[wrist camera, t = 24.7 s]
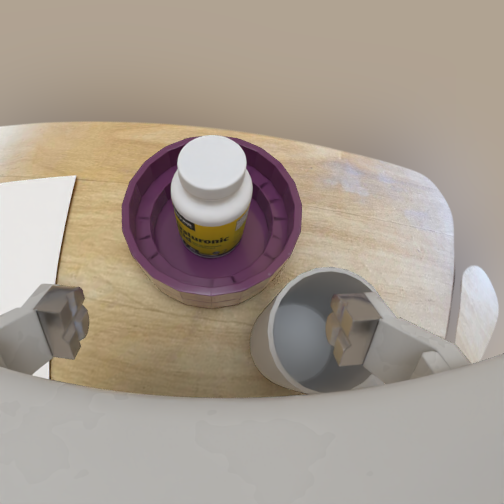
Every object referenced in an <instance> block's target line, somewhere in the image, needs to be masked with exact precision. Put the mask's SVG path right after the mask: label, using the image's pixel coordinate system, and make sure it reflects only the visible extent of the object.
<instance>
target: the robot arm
mask: <svg viewBox="0 0 504 504" xmlns="http://www.w3.org/2000/svg"><path fill="white" fill-rule="evenodd" d="M84 299H85V298H84V294H83V290H82V289H81V288H80V287H75V286H65V285H54V284H41V285H40V286H39V287H38V288H37V289H36V290H35V291H34V293H33V294H32V295H31V296H30V297H29V298H28V299H27V301H26V302H25V303H24V304H23V305H22V306H21V308H18V307H17V308H15V309H13V310H10V311H8V312H6V313H4V314H2V315H0V504H504V353H503V354H501V355H498V356H495V357H492V358H489V359H486V360H483V361H479V362H476V363H473V364H471V363H470V361H469V360H468V359H467V358H466V356H465V355H464V354H463V353H462V351H461V350H460V349H459V348H458V347H457V345H455V344H453V343H451V342H449V341H447V340H445V339H443V338H441V337H439V336H437V335H435V334H433V333H431V332H429V331H427V330H425V329H423V328H421V327H419V326H417V325H415V324H413V323H411V322H409V321H407V320H405V319H403V318H397V317H396V316H395V315H394V313H393V312H392V311H391V309H390V308H389V307H388V306H387V304H386V303H385V302H384V301H383V299H382V298H381V297H380V296H379V294H378V293H376V292H366V293H348V294H334V295H333V297H332V299H331V303H330V306H331V308H332V310H333V311H332V312H331V313H330V314H329V315H328V316H327V320H326V325H325V333H326V338H327V341H328V343H329V344H330V345H331V346H333V347H334V350H333V355H334V357H335V359H336V361H337V364H338V366H339V367H340V366H353V365H363V367H365V368H366V369H367V370H368V371H370V372H371V373H372V374H373V375H375V376H376V377H377V378H378V379H380V380H381V381H382V382H383V383H385V384H384V385H378V386H372V387H366V388H359V389H352V390H344V391H336V392H328V393H318V394H307V395H294V396H278V397H253V398H202V397H178V396H162V395H150V394H140V393H130V392H122V391H114V390H107V389H100V388H93V387H87V386H81V385H76V384H70V383H65V382H60V381H55V380H50V379H46V378H42V377H37V376H33V375H32V374H34V373H35V372H36V371H37V370H38V369H40V368H41V367H42V366H43V365H45V364H46V363H47V362H48V361H50V360H51V359H52V358H53V357H58V358H66V359H73V360H75V357H76V355H77V353H78V351H79V349H80V347H81V345H80V341H81V340H82V339H84V338H85V337H86V335H87V333H88V329H89V315H88V310H87V309H86V308H85V307H84V306H83V305H82V303H83V301H84Z"/></svg>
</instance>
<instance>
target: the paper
mask: <svg viewBox="0 0 504 504" xmlns="http://www.w3.org/2000/svg"><path fill="white" fill-rule="evenodd" d="M75 179H76V176H63V177H51V178H41V179H31V180H21V181H12V182H4V183H0V315H2V314H4V313H6V312H8V311H10V310H13V309H15V308H17V307H18V308H21V306H22V305H23V304H24V303H25V302H26V301H27V299H28V298H29V297H30V296H31V295H32V294H33V293H34V291H35V290H36V289H37V288H38V287H39V286H40V285H41V284H54V285H55V280H56V272H57V266H58V260H59V254H60V248H61V243H62V238H63V233H64V228H65V223H66V218H67V213H68V209H69V204H70V200H71V195H72V191H73V187H74V183H75ZM32 375H33V376H37V377H42V378H46V379H49V361H48V362H47V363H46V364H45V365H43V366H42V367H41V368H40V369H38V370H37V371H36V372H35V373H34V374H32Z"/></svg>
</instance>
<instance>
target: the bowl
mask: <svg viewBox="0 0 504 504" xmlns="http://www.w3.org/2000/svg"><path fill="white" fill-rule="evenodd" d="M199 137H201V136H199ZM223 137H225V136H223ZM195 138H198V137H191V138H187V139H184V140H181V141H179V142H176V143H173V144H171V145H168V146H166V147H164V148H163V149H161V150H160V151H158V152H157V153H156V154H154V155H153V156H152V157H150V158H149V159H148V160H146V161H145V162H144V163H143V165H142V166H141V167H140V169H139V170H138V171H137V173H136V174H135V175H134V177H133V178H132V179H131V181H130V182H129V185H128V188H127V191H126V194H125V197H124V200H123V203H122V232H123V234H124V237H125V239H126V242H127V244H128V247H129V249H130V252H131V254H132V256H133V258H134V259H135V261H136V262H137V263H138V265H139V266H140V268H141V269H142V270H143V272H144V273H145V275H146V276H147V277H148V278H149V279H150V280H151V281H152V282H153V283H154V284H155V285H156V286H157V288H158V289H159V290H160V291H161V292H163V293H164V294H166V295H168V296H170V297H172V298H174V299H176V300H177V301H179V302H181V303H183V304H186V305H191V306H198V307H204V308H218V307H224V306H230V305H236V304H239V303H241V302H243V301H245V300H247V299H249V298H251V297H253V296H255V295H256V294H258V293H260V292H261V291H263V290H264V288H265V287H266V286H267V285H268V284H269V283H270V282H271V281H272V280H273V279H274V278H275V277H276V276H277V275H278V273H279V272H280V270H281V269H282V267H283V266H284V264H285V263H286V262H287V260H288V259H289V257H290V255H291V254H292V251H293V249H294V247H295V244H296V242H297V239H298V237H299V235H300V232H301V220H302V204H301V200H300V197H299V194H298V191H297V188H296V184H295V182H294V181H293V179H292V178H291V176H290V175H289V174H288V172H287V171H286V169H285V168H284V167H283V165H282V164H281V163H280V162H279V161H278V160H277V159H275V158H274V157H273V156H271V155H270V154H269V153H267V152H266V151H265V150H263V149H262V148H260V147H258V146H256V145H253V144H251V143H249V142H246V141H244V140H241V139H238V138H232V137H226V138H229V139H231V140H233V141H234V142H236V143H237V144H238V145H239V146H240V147H241V148H242V150H243V151H244V153H245V156H246V162H247V164H246V169H247V171H248V172H249V175H250V177H251V180H252V185H253V190H252V198H251V202H250V206H249V211H248V215H247V219H246V223H245V227H244V231H243V235H242V238H241V240H240V242H239V244H238V245H237V246H236V248H235V249H234V250H232V251H231V252H230V253H228V254H226V255H224V256H222V257H218V258H205V257H201V256H198V255H196V254H194V253H193V252H191V251H190V250H189V249H188V248H187V247H186V246H185V245H184V243H183V241H182V239H181V237H180V234H179V230H178V226H177V222H176V217H175V212H174V208H173V204H172V199H171V183H172V179H173V177H174V174H175V173H176V171H177V169H178V167H177V161H178V156H179V154H180V152H181V150H182V149H183V147H184V146H185V145H186V144H187V143H189V142H190V141H192V140H194V139H195Z"/></svg>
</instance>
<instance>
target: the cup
mask: <svg viewBox="0 0 504 504" xmlns="http://www.w3.org/2000/svg"><path fill="white" fill-rule="evenodd" d="M366 292H376V293H378V292H377V291H376V290H375V288H374V287H373V286H372V285H371V284H370V283H368V282H367V281H366V280H365V279H364V278H362V277H361V276H359V275H357V274H355V273H353V272H351V271H349V270H346V269H341V268H335V267H324V268H315V269H312V270H310V271H307V272H304V273H302V274H300V275H299V276H297V277H296V278H295V279H293V280H292V281H290V282H289V283H288V284H287V285H286V286H285V287H284V288H283V289H282V290H281V292H280V293H279V294H278V295H277V296H276V297H275V298H274V299H273V300H272V302H271V303H270V304H269V305H268V306H267V307H266V308H265V309H264V311H263V312H262V313H261V314H260V316H259V317H258V318H257V320H256V322H255V324H254V326H253V329H252V331H251V337H250V351H251V356H252V358H253V361H254V363H255V366H256V367H257V368H258V370H259V371H260V372H261V374H262V375H263V376H265V377H266V378H267V379H269V380H270V381H271V382H273V383H275V384H277V385H280V386H282V387H285V388H288V389H292V390H295V391H298V392H302V393H305V394H318V393H328V392H336V391H344V390H352V389H359V388H366V387H372V386H378V385H384V383H383V382H382V381H381V380H380V379H378V378H377V377H376V376H375V375H373V374H372V373H371V372H370V371H368V370H367V369H366V368H365V367H363V365H353V366H340V367H339V366H338V364H337V361H336V359H335V357H334V355H333V350H334V347H333V346H331V345H330V344H329V343H328V341H327V338H326V333H325V325H326V320H327V316H328V315H329V314H330V313H331V312H332V311H333V310H332V308H331V306H330V303H331V299H332V297H333V295H334V294H348V293H366ZM379 296H380V295H379Z"/></svg>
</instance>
